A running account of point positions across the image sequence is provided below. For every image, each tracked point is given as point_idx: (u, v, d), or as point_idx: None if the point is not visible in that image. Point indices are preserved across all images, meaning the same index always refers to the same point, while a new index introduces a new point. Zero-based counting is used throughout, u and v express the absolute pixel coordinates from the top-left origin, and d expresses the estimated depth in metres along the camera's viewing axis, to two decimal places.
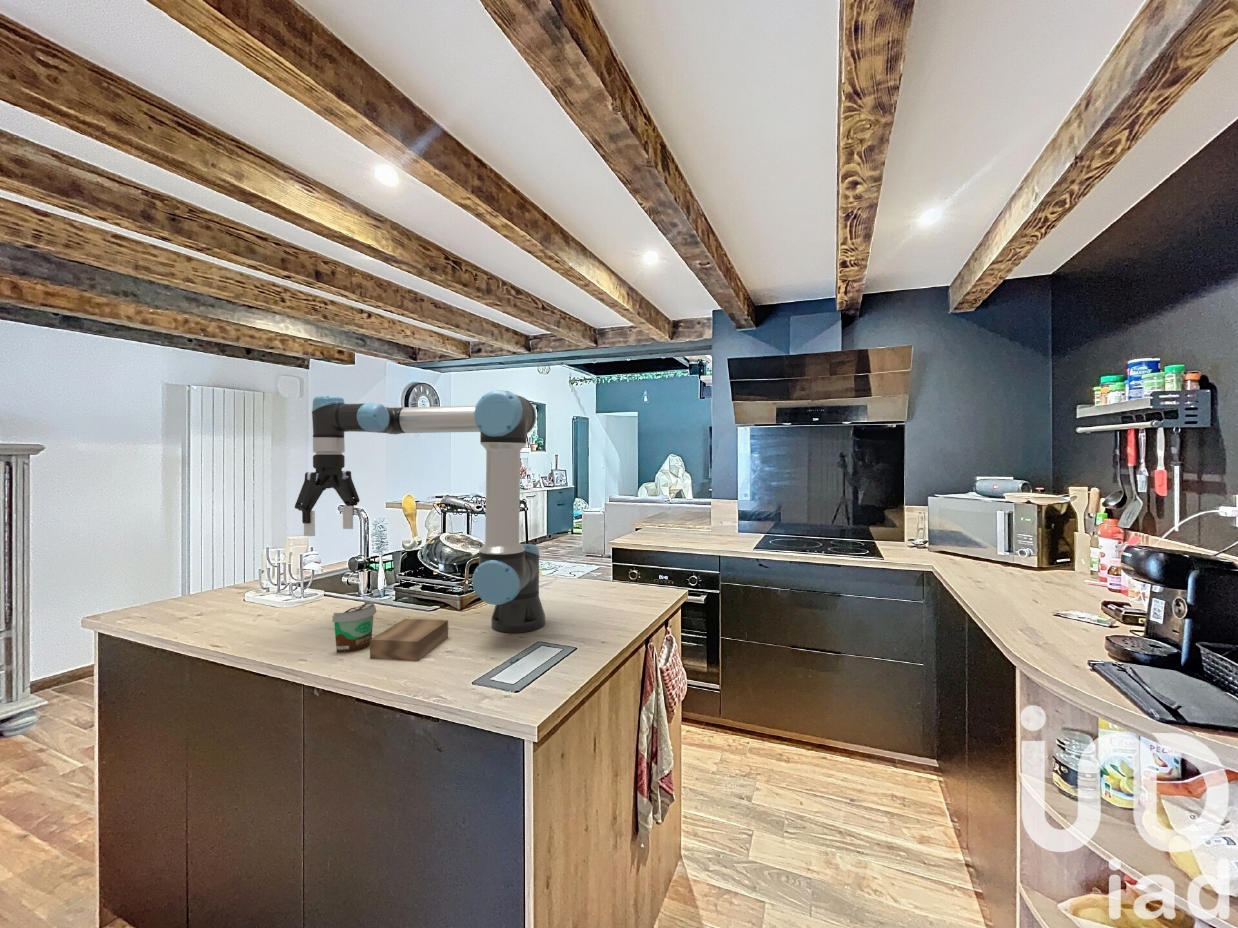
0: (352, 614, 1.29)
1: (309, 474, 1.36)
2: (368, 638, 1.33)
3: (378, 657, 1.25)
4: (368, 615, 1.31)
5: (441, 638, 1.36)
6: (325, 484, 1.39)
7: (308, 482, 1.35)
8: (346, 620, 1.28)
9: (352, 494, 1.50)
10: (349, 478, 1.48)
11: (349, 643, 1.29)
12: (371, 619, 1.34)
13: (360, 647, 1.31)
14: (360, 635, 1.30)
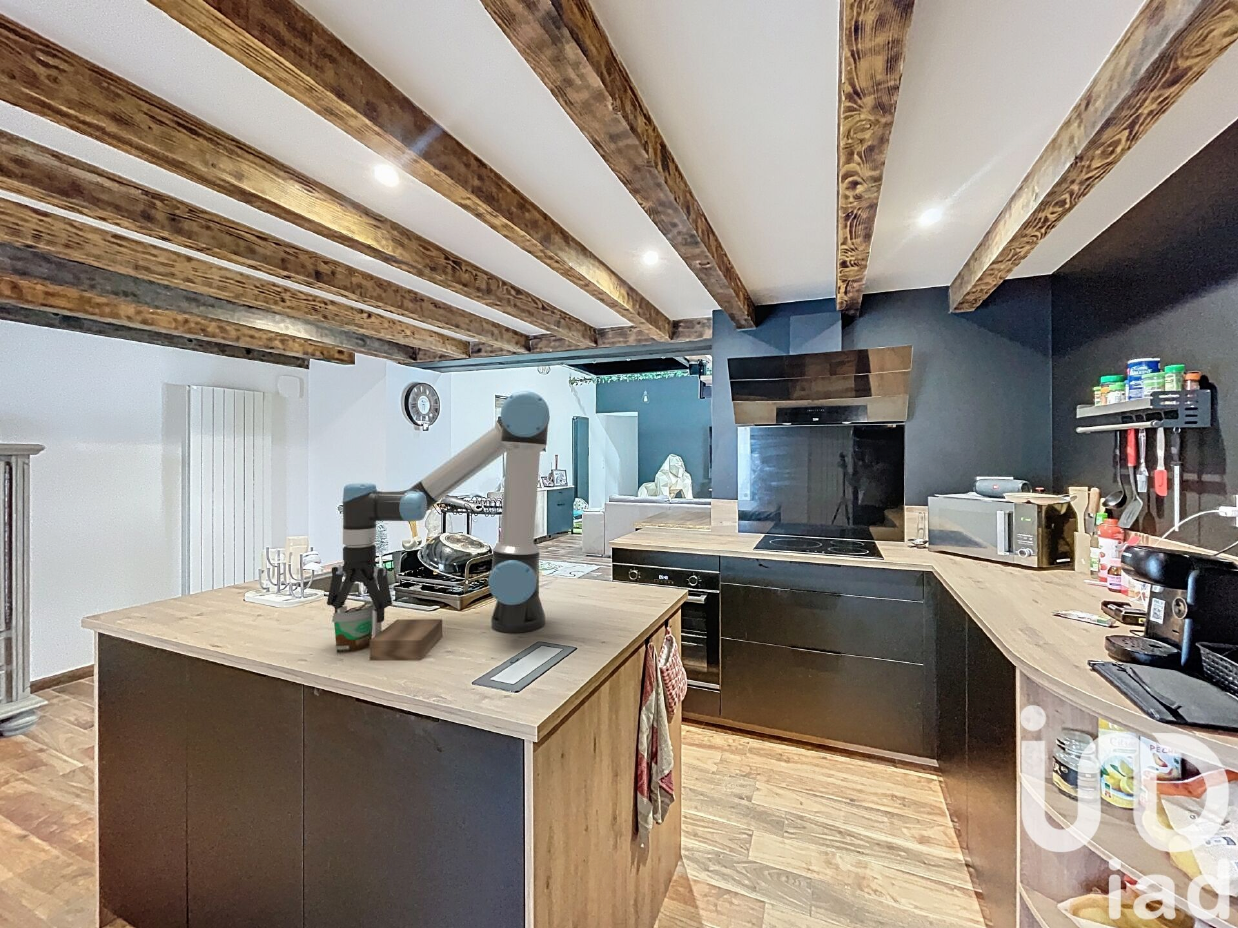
0: (352, 614, 1.29)
1: None
2: (368, 638, 1.33)
3: (378, 658, 1.24)
4: (368, 615, 1.31)
5: (438, 637, 1.37)
6: (345, 579, 1.31)
7: None
8: (346, 620, 1.28)
9: None
10: (378, 576, 1.31)
11: (349, 643, 1.29)
12: (371, 619, 1.34)
13: (360, 647, 1.31)
14: (360, 635, 1.30)
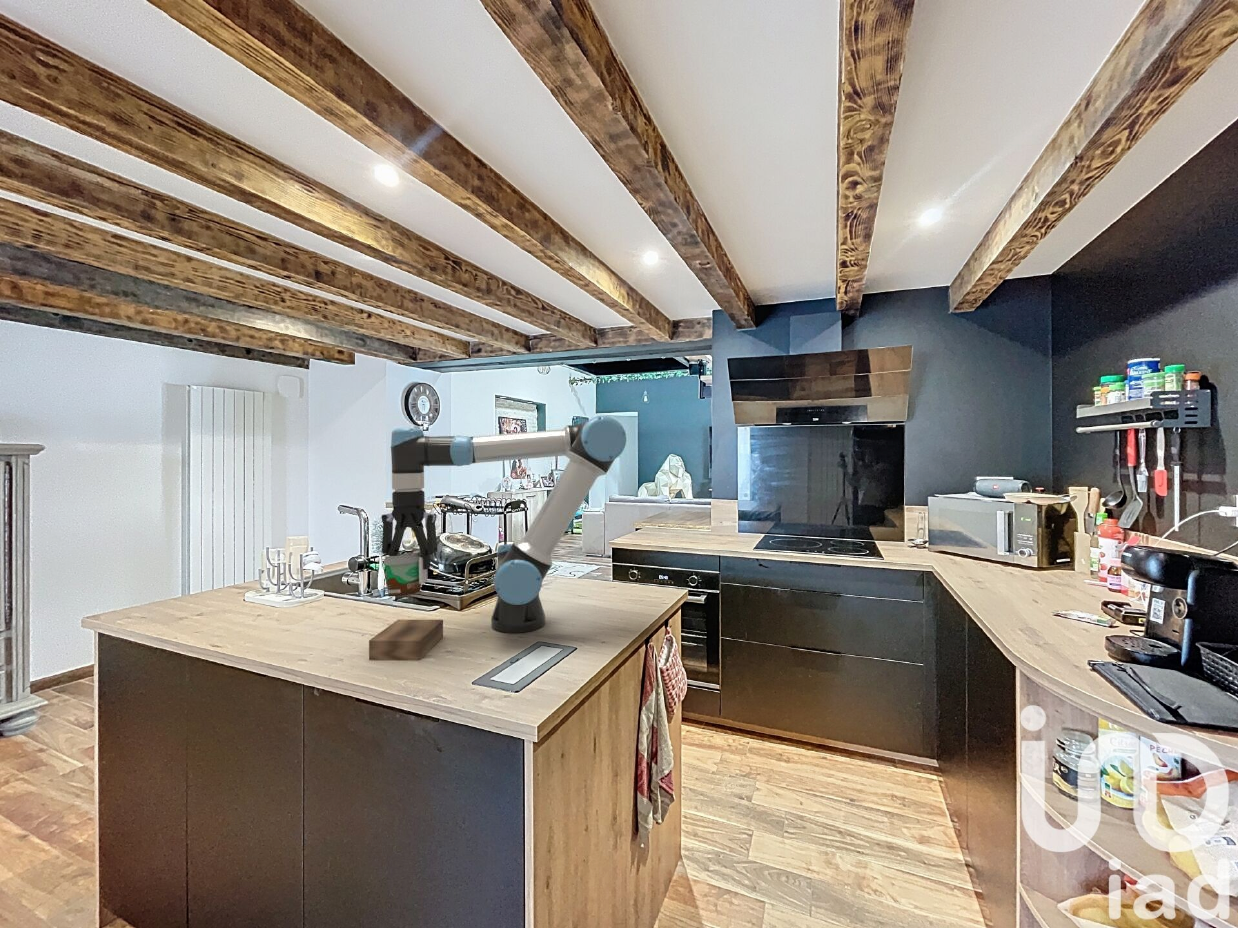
0: (403, 557, 1.28)
1: None
2: (418, 583, 1.32)
3: (378, 658, 1.24)
4: (418, 559, 1.31)
5: (438, 637, 1.37)
6: (396, 525, 1.31)
7: None
8: (397, 563, 1.27)
9: None
10: (427, 522, 1.30)
11: (401, 587, 1.28)
12: None
13: (411, 591, 1.30)
14: (411, 579, 1.30)
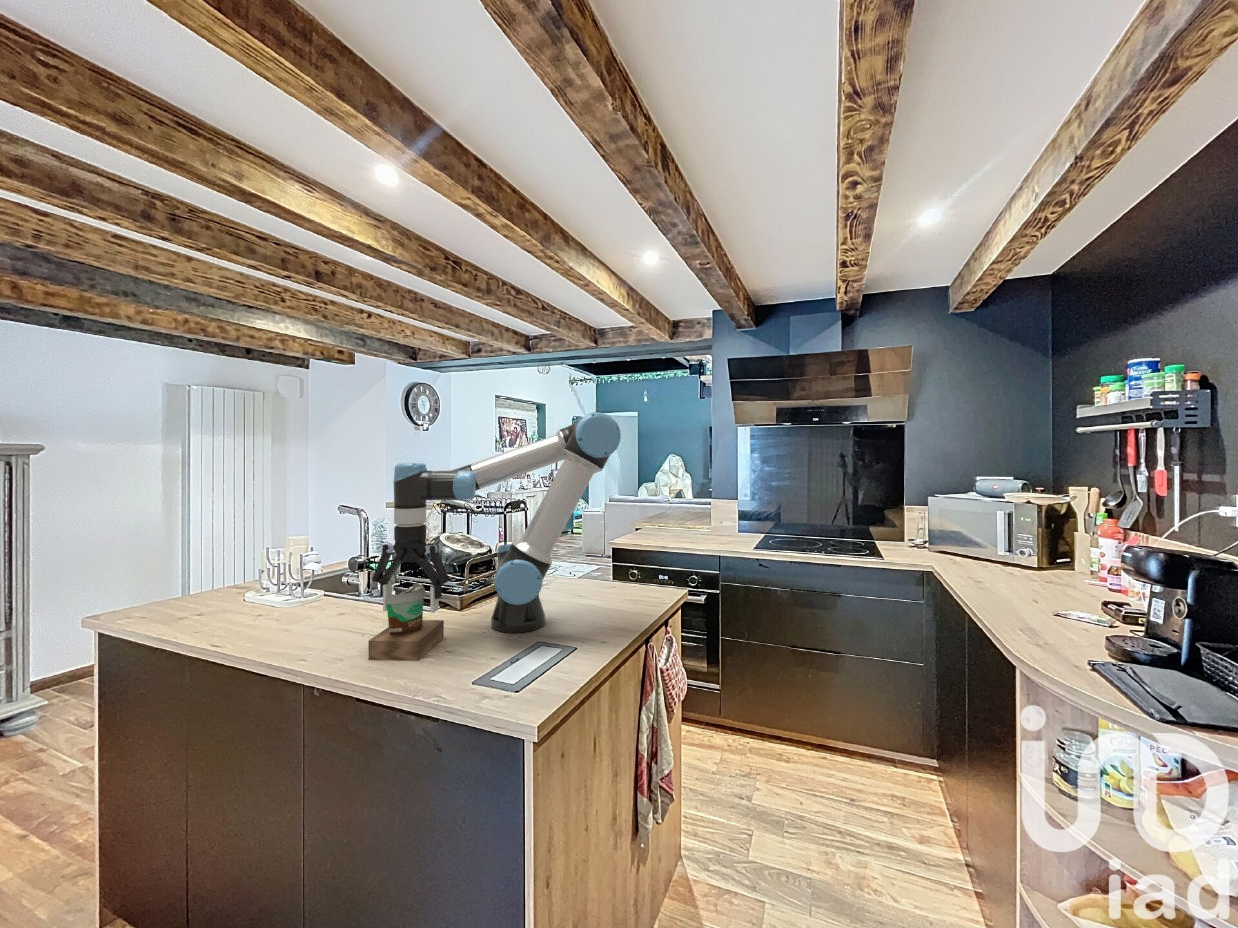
0: (404, 596, 1.28)
1: None
2: (420, 620, 1.32)
3: (377, 658, 1.24)
4: (419, 597, 1.31)
5: (438, 638, 1.36)
6: (395, 558, 1.31)
7: None
8: (399, 602, 1.27)
9: None
10: (431, 554, 1.30)
11: (402, 625, 1.28)
12: (422, 601, 1.33)
13: (412, 629, 1.30)
14: (412, 617, 1.30)
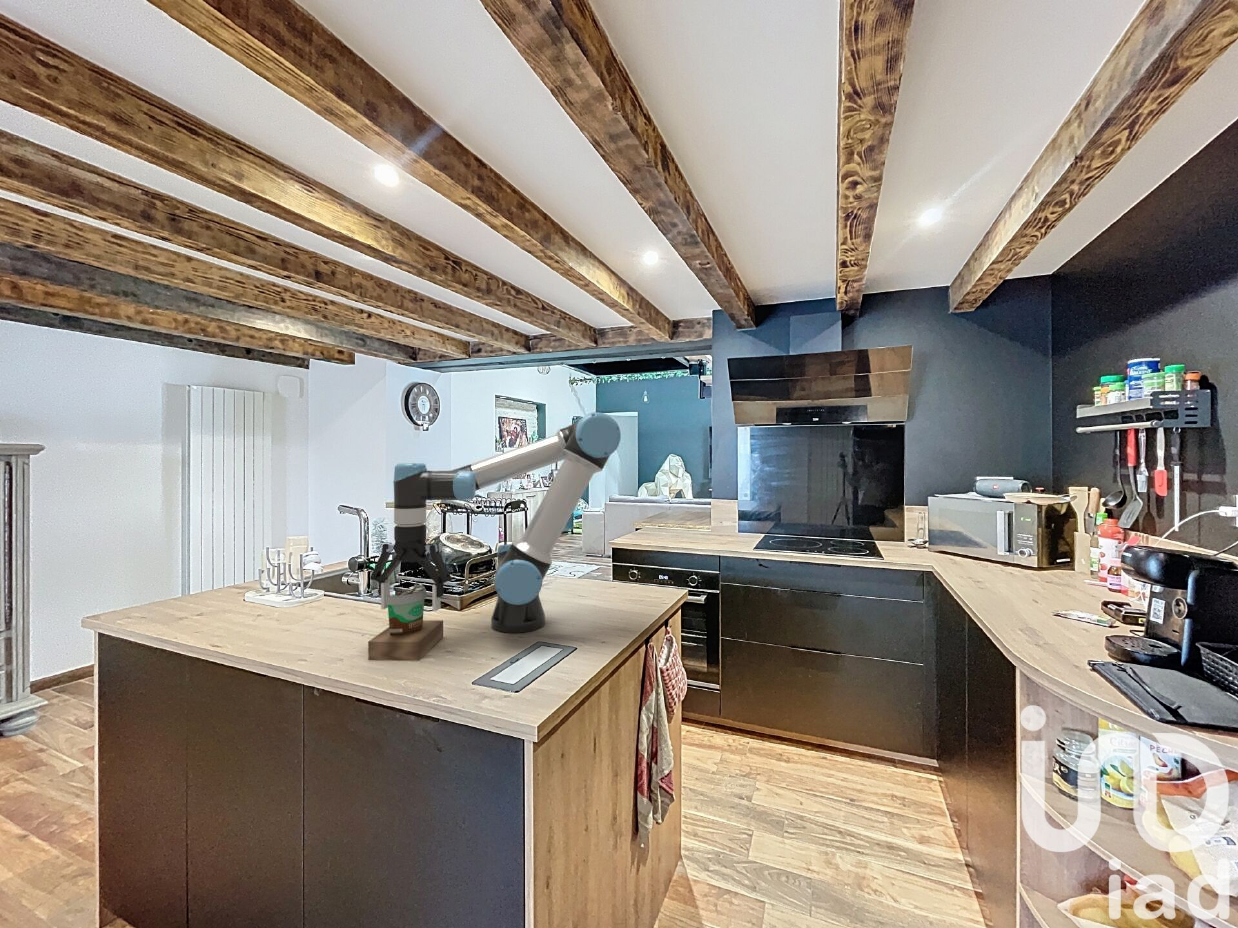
0: (405, 597, 1.28)
1: None
2: (420, 621, 1.32)
3: (377, 659, 1.24)
4: (420, 598, 1.31)
5: (438, 638, 1.36)
6: (395, 557, 1.31)
7: None
8: (400, 603, 1.27)
9: None
10: (431, 553, 1.30)
11: (403, 626, 1.28)
12: (423, 602, 1.33)
13: (413, 630, 1.30)
14: (413, 618, 1.30)
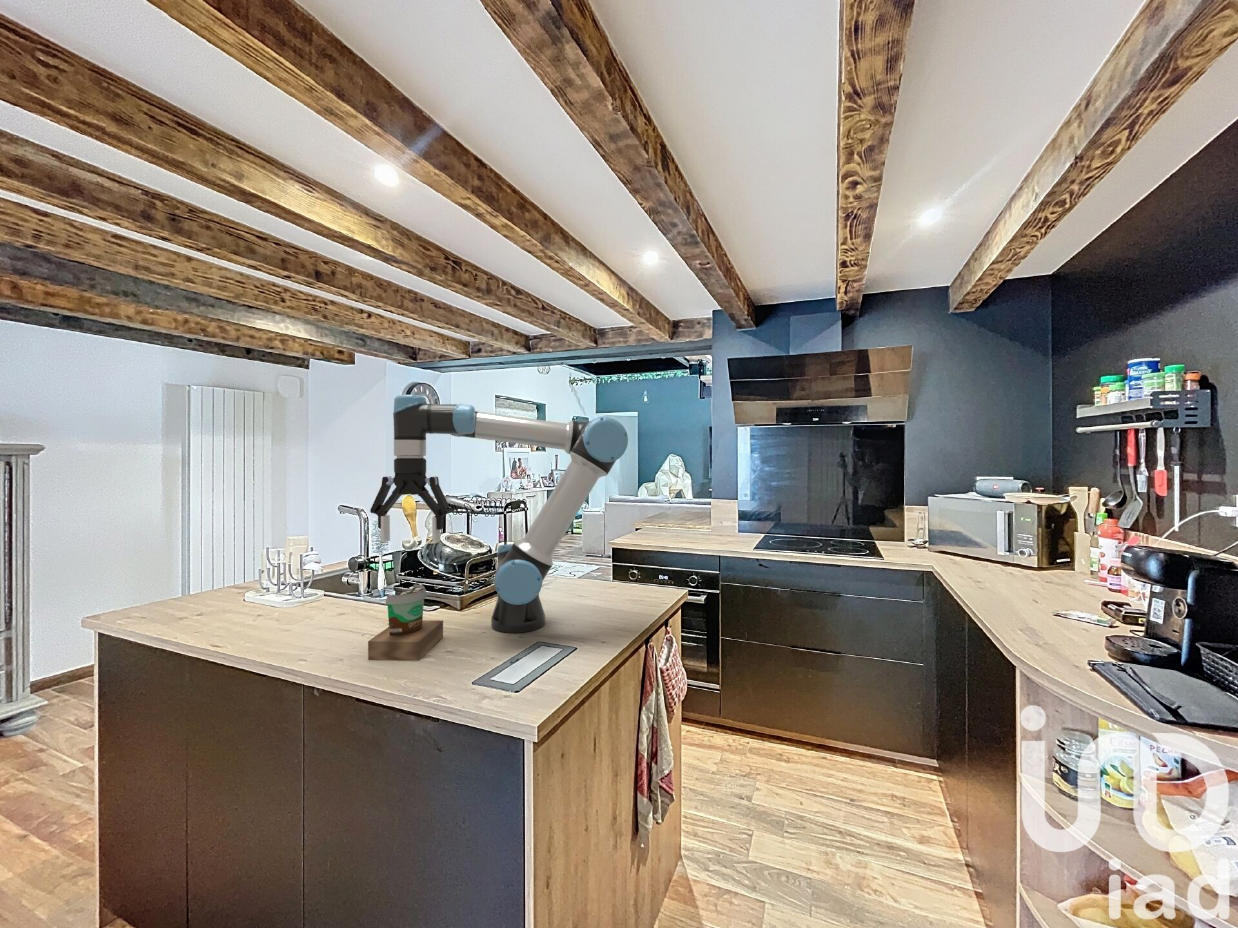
0: (405, 596, 1.28)
1: None
2: (420, 621, 1.32)
3: (377, 659, 1.24)
4: (420, 598, 1.31)
5: (438, 638, 1.36)
6: (395, 490, 1.30)
7: None
8: (400, 602, 1.27)
9: None
10: (431, 485, 1.30)
11: (402, 626, 1.28)
12: (422, 602, 1.33)
13: (412, 630, 1.30)
14: (412, 618, 1.30)
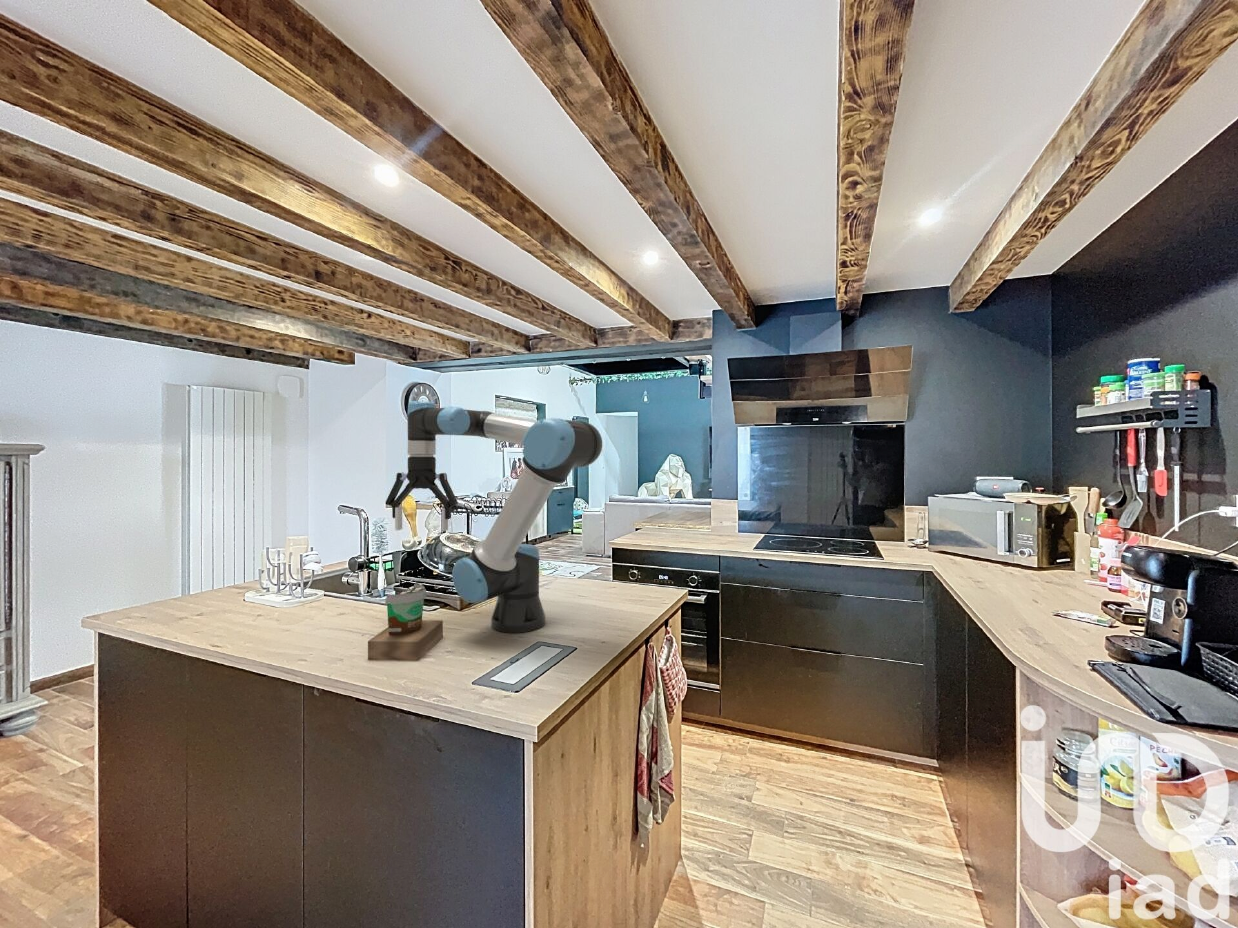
0: (405, 596, 1.28)
1: None
2: (419, 621, 1.32)
3: (376, 659, 1.24)
4: (420, 598, 1.31)
5: (437, 638, 1.36)
6: (408, 484, 1.49)
7: None
8: (399, 602, 1.27)
9: None
10: (441, 480, 1.49)
11: (401, 625, 1.28)
12: (422, 602, 1.33)
13: (412, 630, 1.30)
14: (412, 618, 1.30)
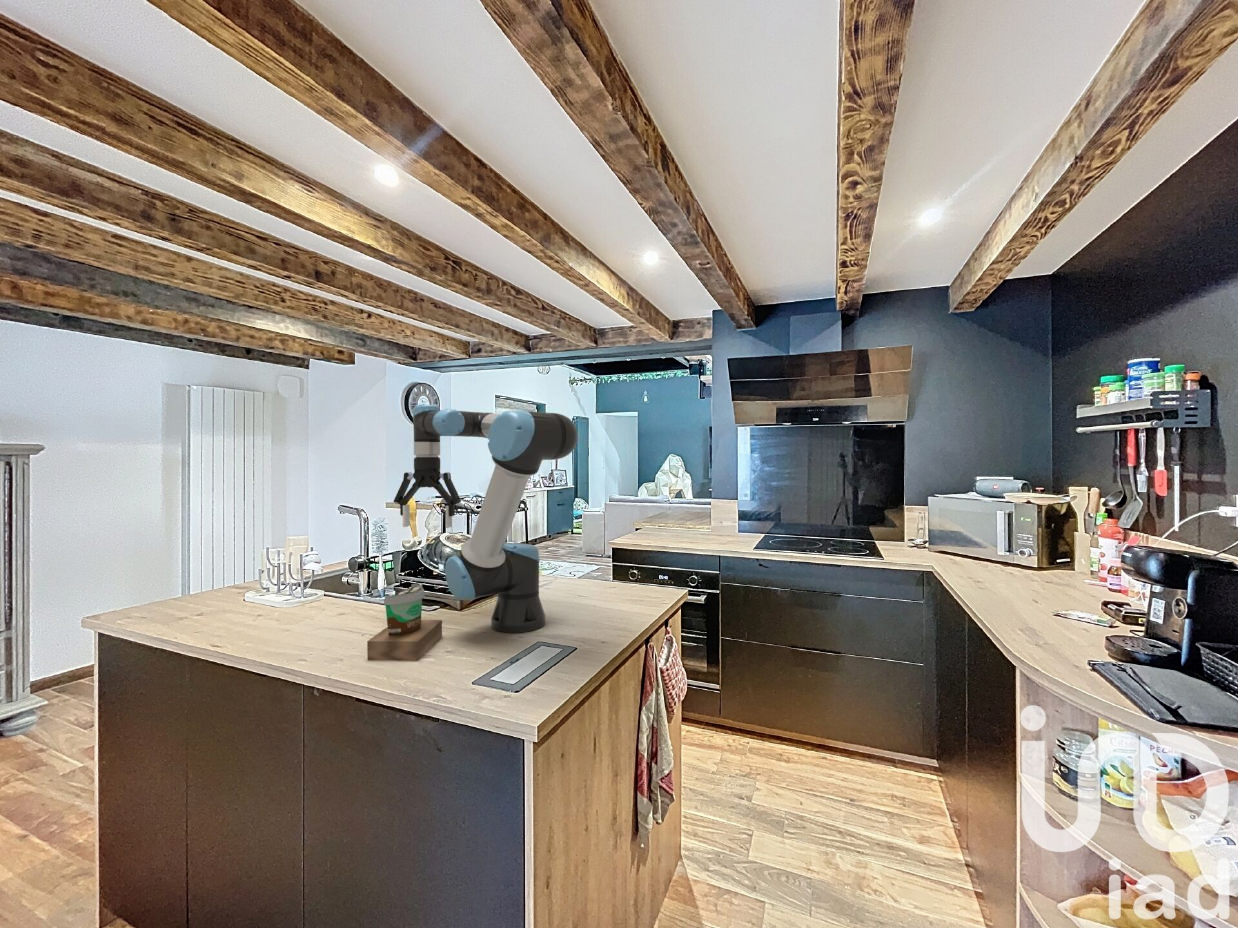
0: (403, 596, 1.27)
1: None
2: (418, 621, 1.32)
3: (376, 659, 1.24)
4: (418, 597, 1.30)
5: (437, 638, 1.36)
6: (414, 483, 1.57)
7: None
8: (398, 603, 1.27)
9: None
10: (444, 479, 1.57)
11: (401, 626, 1.28)
12: (420, 602, 1.33)
13: (411, 630, 1.30)
14: (411, 618, 1.29)
